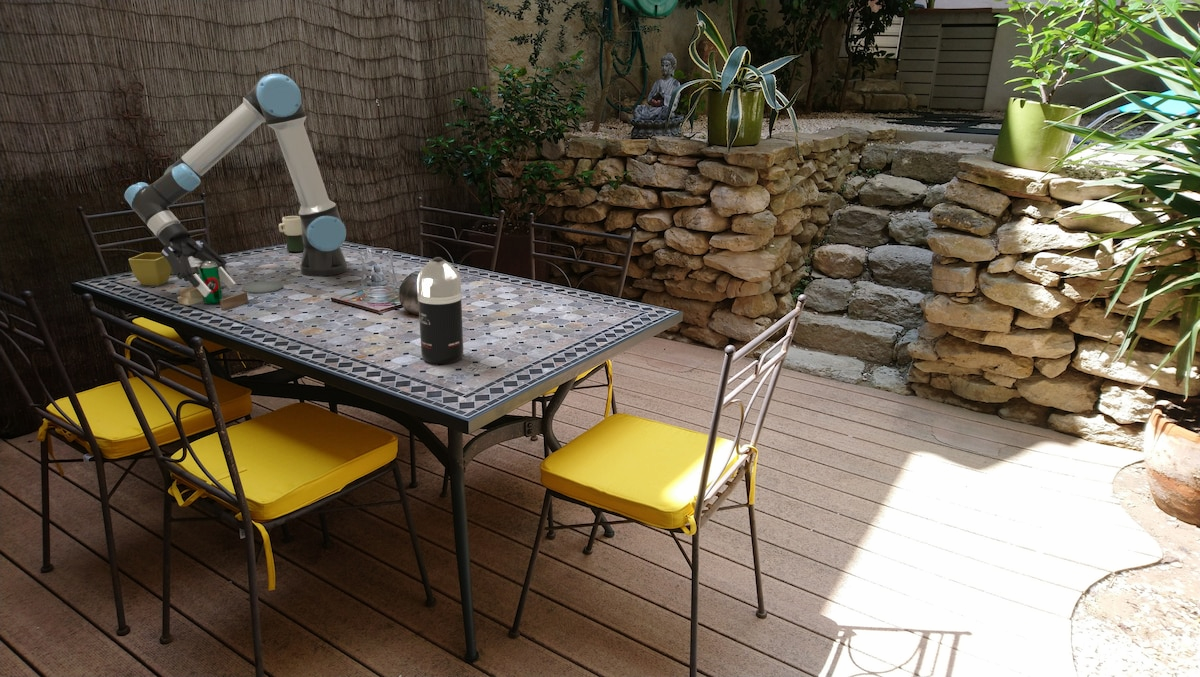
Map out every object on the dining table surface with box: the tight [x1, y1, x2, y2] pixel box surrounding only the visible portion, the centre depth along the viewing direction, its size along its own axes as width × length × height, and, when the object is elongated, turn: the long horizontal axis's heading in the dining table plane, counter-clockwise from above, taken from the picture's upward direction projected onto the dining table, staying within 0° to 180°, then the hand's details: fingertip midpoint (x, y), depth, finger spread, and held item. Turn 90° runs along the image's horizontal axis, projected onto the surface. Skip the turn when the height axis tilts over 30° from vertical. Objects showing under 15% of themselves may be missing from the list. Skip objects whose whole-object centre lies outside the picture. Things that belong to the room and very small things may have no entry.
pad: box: [241, 280, 284, 294], centre depth 231 cm, size 12×12×1 cm
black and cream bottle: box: [416, 256, 464, 365], centre depth 174 cm, size 10×10×25 cm
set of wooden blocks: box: [177, 285, 249, 311], centre depth 214 cm, size 17×10×4 cm, turn 70°
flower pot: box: [128, 252, 172, 287], centre depth 231 cm, size 9×9×9 cm
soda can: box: [198, 261, 224, 306], centre depth 213 cm, size 5×5×12 cm
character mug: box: [278, 215, 304, 253], centre depth 277 cm, size 11×7×13 cm, turn 137°
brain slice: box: [170, 256, 202, 276], centre depth 250 cm, size 20×17×3 cm
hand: (220, 290), depth 213 cm, fingers open, 8 cm apart
